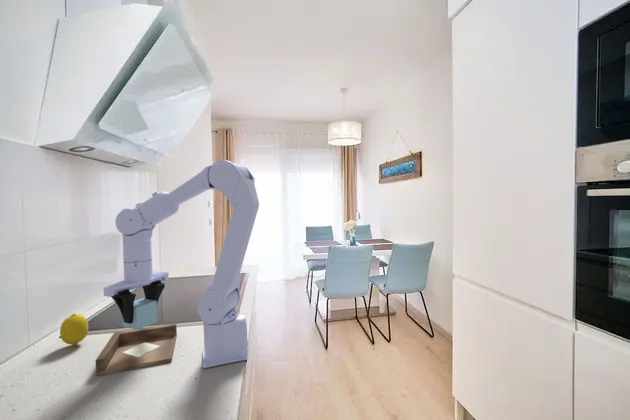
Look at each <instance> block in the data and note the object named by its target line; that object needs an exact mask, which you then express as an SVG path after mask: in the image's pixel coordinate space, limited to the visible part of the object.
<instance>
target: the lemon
mask: <svg viewBox="0 0 630 420" xmlns="http://www.w3.org/2000/svg"><path fill="white" fill-rule="evenodd" d="M88 332H89V322H88V320H87V318H86V317H85V316H83V315H81V314H77V313H72V314H71V315H70V316H68V317H66V318H65V319H64V320H62V323H61V326H60V330H59V337H60V339H61V340H62V341H63V342H64V343H65V344H68V345H72V346H78V344H79V343H80V342H82V341H84V339H85V338H86V337H87V335H88Z"/></svg>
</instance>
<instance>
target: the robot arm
mask: <svg viewBox="0 0 630 420" xmlns="http://www.w3.org/2000/svg"><path fill="white" fill-rule="evenodd" d="M255 180H256V177H254V175H253V174H252V172H251V171H250V170H249V169H248V167H246V166H245V165H242V164H237V163H234V162H231V161H229V160H227V159H220V160H217V161H215V162H214V163H213V164H212V165H207V166H204V168H203V169H202V170H201V171H200V172H198V173H197V174H196V175H195V176H193V177H191V178H190V179H188V180H187V181H185V182H183V183H182V184H181V185H179V186H178V187H176V188H175V189H173V190H171V192H168V191H155V192H152V194H151V195H152V197H150V198H148V199H146V200H145V201H143V202H138V203H136V204H135V206H134V208H124V209H122V210H121V211H119V213H118V214H117V215H116V217H115V222H114V223H115V226H116V229H117V231H118V232H119V233H121V235H122V260H123V280H121V281H118V282H114V283H113V284H110V285H107V286H104V287H103V297H108V298H111V299H112V300H113V302H115V303H116V305H117V307H118V310H119V311H120V314H121V316H122V320H123V319H124V322H125V323H129V324H130V323H133V306H134V301H136V300H135V299H136V296H137V294H136V293H132V292H131V291H132V290H136V289H138V288H142V290H143V293H144V299H149V300H154V301H157V304H158V303H159V300H160V298H161V295H162V293H163V290H165V287H166V285H165V283H164V282H165V281H168V280H170V278H169V272H167V271H161V272H156V273H153V258H152V257H153V255H152V253H153V252H152V249H153V248H152V237H153V231H154V229H155V227H156V225H157V224H159V223H161V222H163V221H165V220H167V219H168V218H170V217H172V216H173V215H175V214H176V213H177V212H178V211H179V208H180V205H182V204H184V203H185V202H188V201H189V200H191V199H193V198H195V197H197V196H199V195H200V194H202V193H205V192H206V191H209V190H216V191H219V193H221V194H222V195H223V196H224V197H225V198H226V199H227V201H228V202H229V203H230V205H231V207H232V212H231V216H230V220H229V222H228V226H227V230H226V233H225V238H224V240H223V241H224V242H223V244H222V247H221V248H222V249H221V252H220V254H219V259H218V263H217V265H216V269H215V273H214V276H213V278H212V280H211V281H210V282H209V284H208V285H207V287H206V288H205V291H204V292H205V293H204V294H203V296H202V297H201V298H200V299H199V301H198V302H197V305H196V311H197V315H198V317H199V319H200V320H201V321H202V323H203V324H202V325H203V344H204V345H203V346H204V347H203V350H202V368H203V369H207V368H213V367H217V366H222V365H227V364H232V363H237V362H243V361H246V360H249V355H248V354H249V353H248V351H249V349H248V345H249V343H248V324H247V318H246V315H245V314H241V313H240V314H237V310H236V309H237V308H236V307H237V306H238V304H239V303H240V300H241V294H240V286H241V281H240V279H239V277H240V273H241V270H242V267H243V262H244V260H245V257H246V252H247V249H248V245H249V241H250V238H251V235H252V231H253V228H254V225H255V220H256V218H257V214H258V211H259V207H260V202H259V197H258V193H257V189H256V186H255V182H256V181H255ZM162 281H164V282H162Z"/></svg>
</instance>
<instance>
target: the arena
mask: <svg viewBox="0 0 630 420" xmlns="http://www.w3.org/2000/svg"><path fill="white" fill-rule="evenodd" d="M177 337H178V331H177V323H169V324H168V323H167V324H162V325H157V326H149V327H148V326H146V327H143V328H141V329H138V330H135V329H127V330H120V331H115V332H114V333H113V334H112V336H111V337H110V338H109V339H108V341H107V343H106V345H105V346H104V347H103V349H102V350H101V351H100V353H99V354H98V356H97V357H96V359H95V374H96V375H95V376H96V377H97V376H98V377H99V376H103V375H108V374H113V373H114V374H115V373H119V372H123V371H124V372H125V371H130V370H135V369H139V368H145V367H151V366H156V365H162V364H167V363H171V362H172V360H173V355H174V352H175V347H176V341H177Z"/></svg>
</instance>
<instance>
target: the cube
mask: <svg viewBox="0 0 630 420" xmlns="http://www.w3.org/2000/svg"><path fill="white" fill-rule="evenodd" d="M157 322H158V303H157V301H154V300H149V299H145V298H143V297H142V298H140V299H136V300H134V306H133V323H130V324H129V323H125V322H124V319H123V318H122V327H124V328H127V329H130V330H134V329H135V330H138V329H141V328H147V327H148V326H149V325H153V324H154V323H157Z"/></svg>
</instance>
